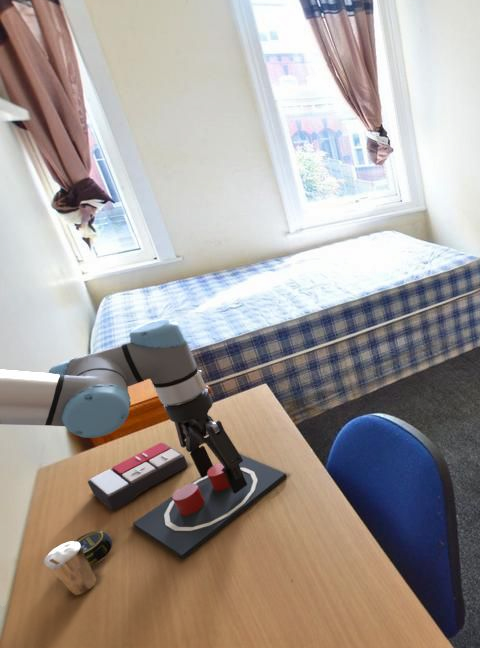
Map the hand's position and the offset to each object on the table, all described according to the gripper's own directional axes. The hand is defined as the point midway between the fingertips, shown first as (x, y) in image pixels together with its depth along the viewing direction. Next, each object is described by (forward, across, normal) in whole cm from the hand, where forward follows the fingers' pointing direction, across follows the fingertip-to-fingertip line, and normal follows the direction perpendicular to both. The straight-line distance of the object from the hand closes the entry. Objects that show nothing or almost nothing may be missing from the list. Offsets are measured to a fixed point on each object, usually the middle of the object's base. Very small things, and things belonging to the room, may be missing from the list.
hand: (223, 480), depth 100 cm
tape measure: (+2, +7, +22) cm, 24 cm away
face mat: (+2, -1, +4) cm, 4 cm away
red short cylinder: (+1, 0, 0) cm, 1 cm away
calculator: (+2, +22, +7) cm, 23 cm away
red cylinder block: (+1, 0, +7) cm, 7 cm away
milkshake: (+2, +1, +26) cm, 26 cm away
